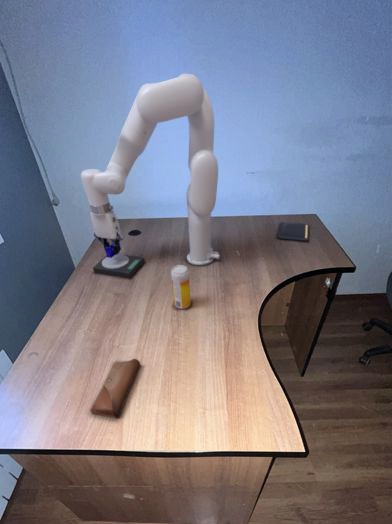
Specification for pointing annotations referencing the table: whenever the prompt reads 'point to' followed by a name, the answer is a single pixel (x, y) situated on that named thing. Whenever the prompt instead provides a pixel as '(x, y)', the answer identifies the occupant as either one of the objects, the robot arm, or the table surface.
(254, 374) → the table surface
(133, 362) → the sunglasses case
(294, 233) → the black flat rectangular slab
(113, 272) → the scale
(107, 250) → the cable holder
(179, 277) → the pill bottle
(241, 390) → the table surface
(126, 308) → the table surface
